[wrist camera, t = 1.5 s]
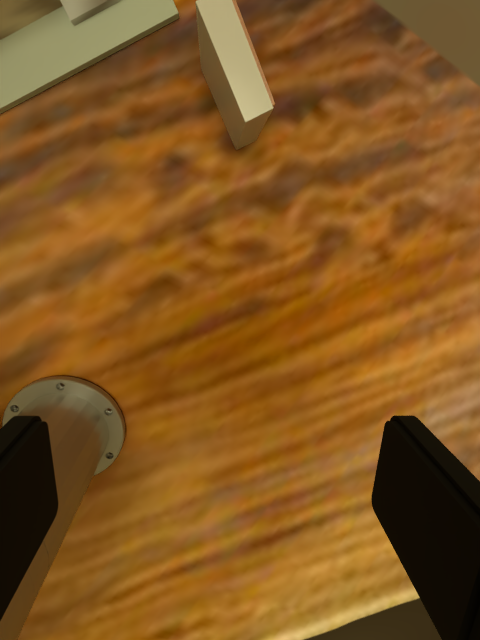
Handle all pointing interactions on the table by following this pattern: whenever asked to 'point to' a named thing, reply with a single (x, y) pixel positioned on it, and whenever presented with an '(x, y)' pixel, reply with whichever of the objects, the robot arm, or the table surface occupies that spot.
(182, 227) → the table surface
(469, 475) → the robot arm
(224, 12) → the tile
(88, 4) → the turner
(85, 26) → the board
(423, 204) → the table surface
